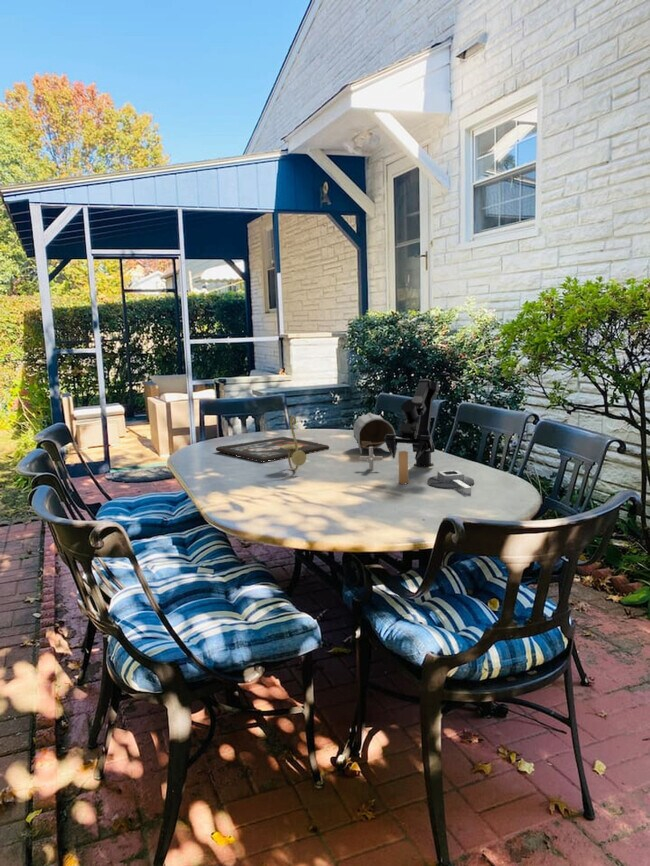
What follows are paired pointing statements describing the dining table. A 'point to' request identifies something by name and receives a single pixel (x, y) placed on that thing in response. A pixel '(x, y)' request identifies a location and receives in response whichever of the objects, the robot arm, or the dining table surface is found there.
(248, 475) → the dining table surface
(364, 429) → the helmet
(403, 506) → the dining table surface
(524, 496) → the dining table surface
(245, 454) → the religious icon
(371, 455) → the pipe connector
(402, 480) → the pin
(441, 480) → the rosette plate
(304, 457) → the wall sconce
